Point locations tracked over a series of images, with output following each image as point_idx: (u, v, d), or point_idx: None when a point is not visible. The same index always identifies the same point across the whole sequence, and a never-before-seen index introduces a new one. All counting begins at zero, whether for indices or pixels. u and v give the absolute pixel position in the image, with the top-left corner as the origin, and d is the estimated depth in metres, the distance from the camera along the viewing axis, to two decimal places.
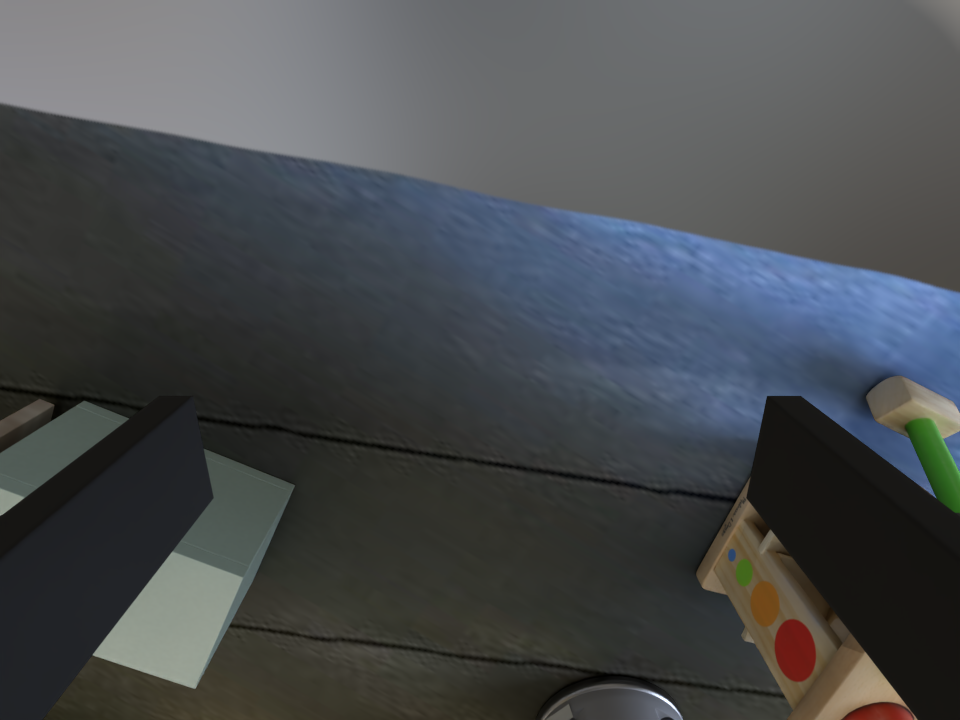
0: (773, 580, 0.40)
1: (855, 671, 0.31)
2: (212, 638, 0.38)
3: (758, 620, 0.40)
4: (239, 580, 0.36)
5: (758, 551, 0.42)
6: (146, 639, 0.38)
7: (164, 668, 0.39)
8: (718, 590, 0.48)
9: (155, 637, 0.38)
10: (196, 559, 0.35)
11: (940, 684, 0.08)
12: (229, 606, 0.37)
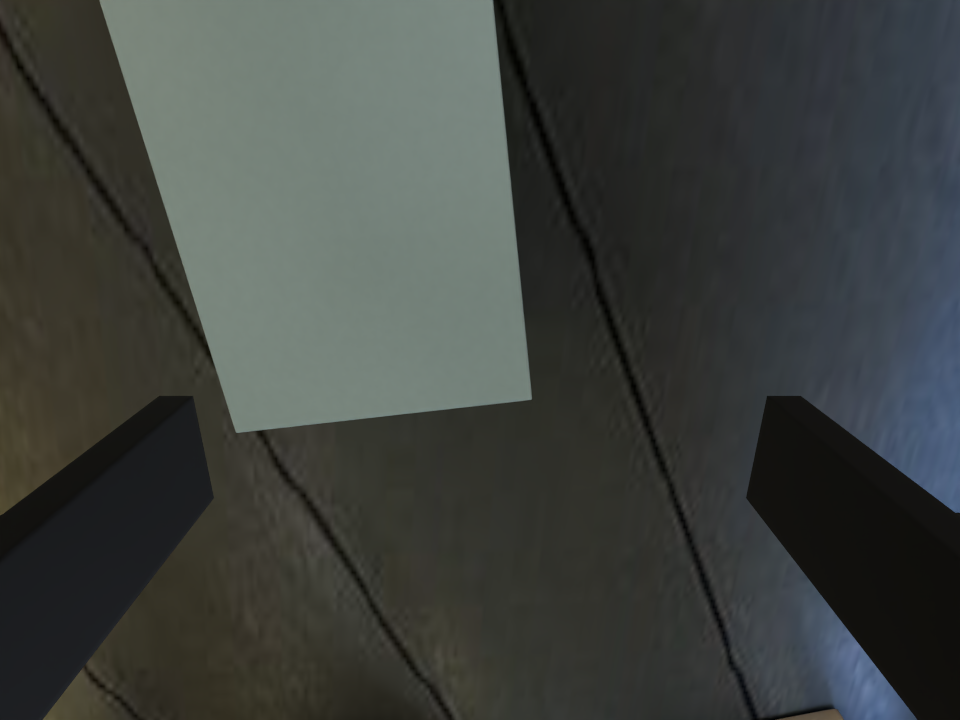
0: None
1: None
2: (371, 411, 0.20)
3: None
4: (522, 397, 0.20)
5: None
6: (290, 314, 0.19)
7: (244, 369, 0.20)
8: None
9: (306, 327, 0.19)
10: (521, 317, 0.19)
11: (940, 685, 0.08)
12: (457, 406, 0.20)
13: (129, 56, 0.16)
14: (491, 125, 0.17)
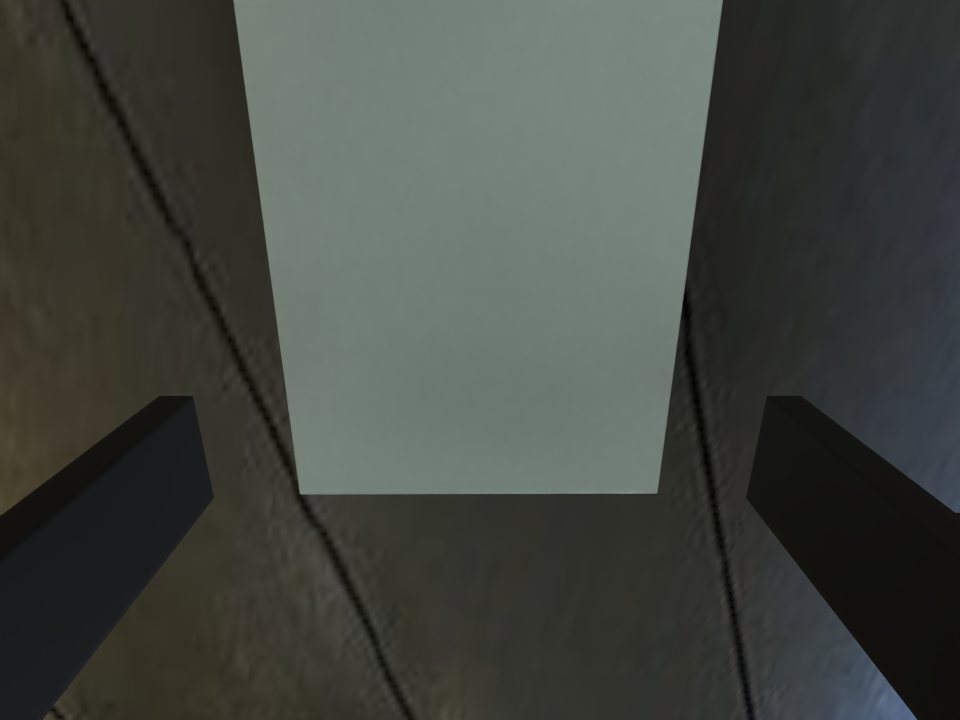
0: None
1: None
2: (467, 486, 0.17)
3: None
4: (647, 489, 0.17)
5: None
6: (393, 367, 0.16)
7: (325, 423, 0.16)
8: None
9: (409, 383, 0.16)
10: (666, 400, 0.16)
11: (940, 684, 0.08)
12: (570, 491, 0.17)
13: (253, 33, 0.13)
14: (683, 177, 0.14)
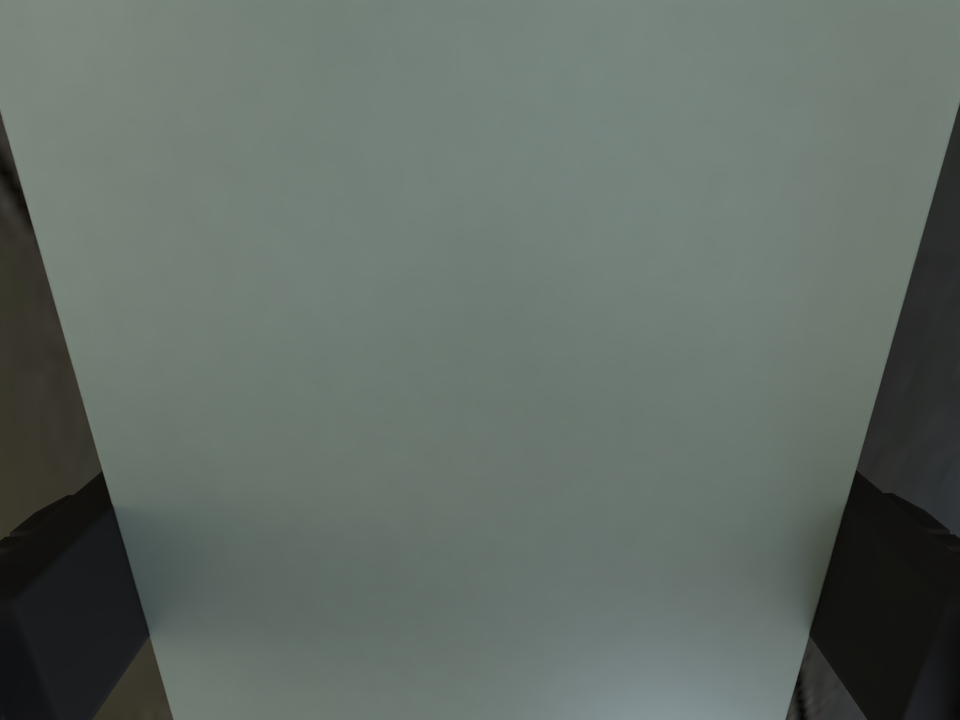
0: None
1: None
2: (460, 713, 0.10)
3: None
4: (769, 717, 0.10)
5: None
6: (322, 533, 0.09)
7: (206, 622, 0.09)
8: None
9: (354, 558, 0.09)
10: (815, 581, 0.09)
11: (861, 650, 0.08)
12: (636, 719, 0.10)
13: None
14: (904, 185, 0.07)
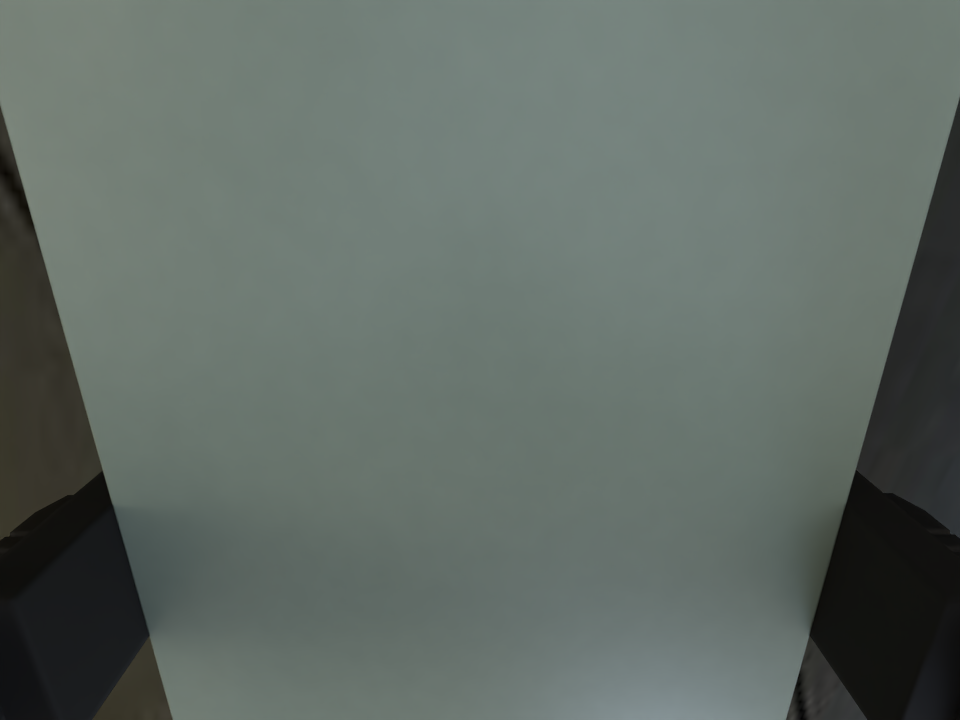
0: None
1: None
2: (460, 714, 0.10)
3: None
4: (769, 717, 0.10)
5: None
6: (322, 532, 0.09)
7: (206, 621, 0.09)
8: None
9: (354, 558, 0.09)
10: (815, 581, 0.09)
11: (861, 650, 0.08)
12: None
13: None
14: (903, 184, 0.07)
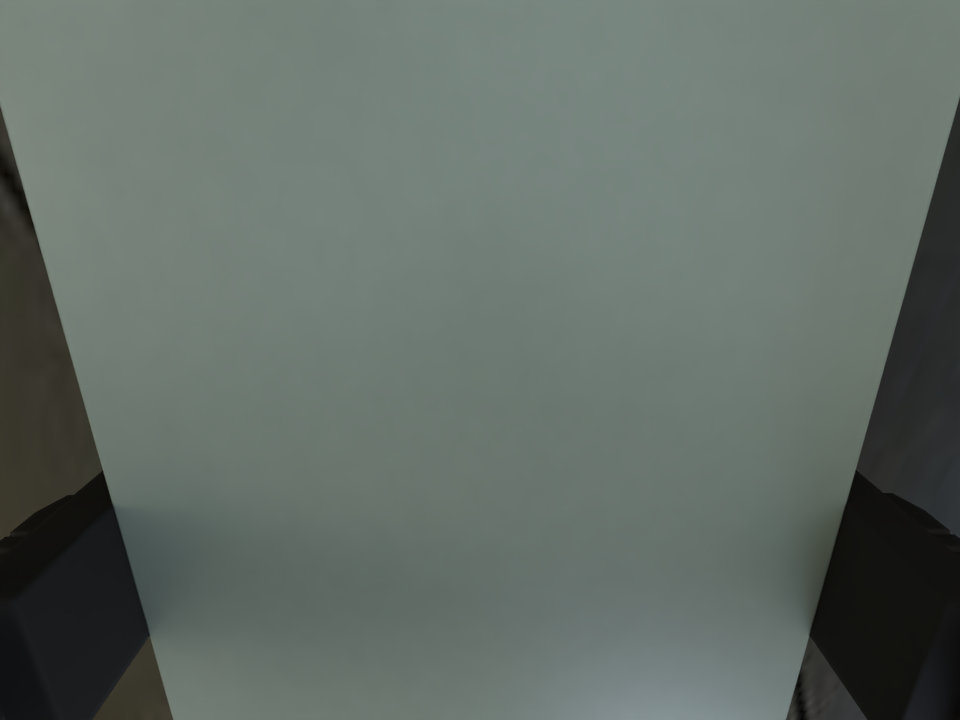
0: None
1: None
2: (460, 714, 0.10)
3: None
4: (769, 718, 0.10)
5: None
6: (322, 532, 0.09)
7: (206, 621, 0.09)
8: None
9: (354, 558, 0.09)
10: (815, 581, 0.09)
11: (860, 649, 0.08)
12: (636, 719, 0.10)
13: None
14: (903, 184, 0.07)
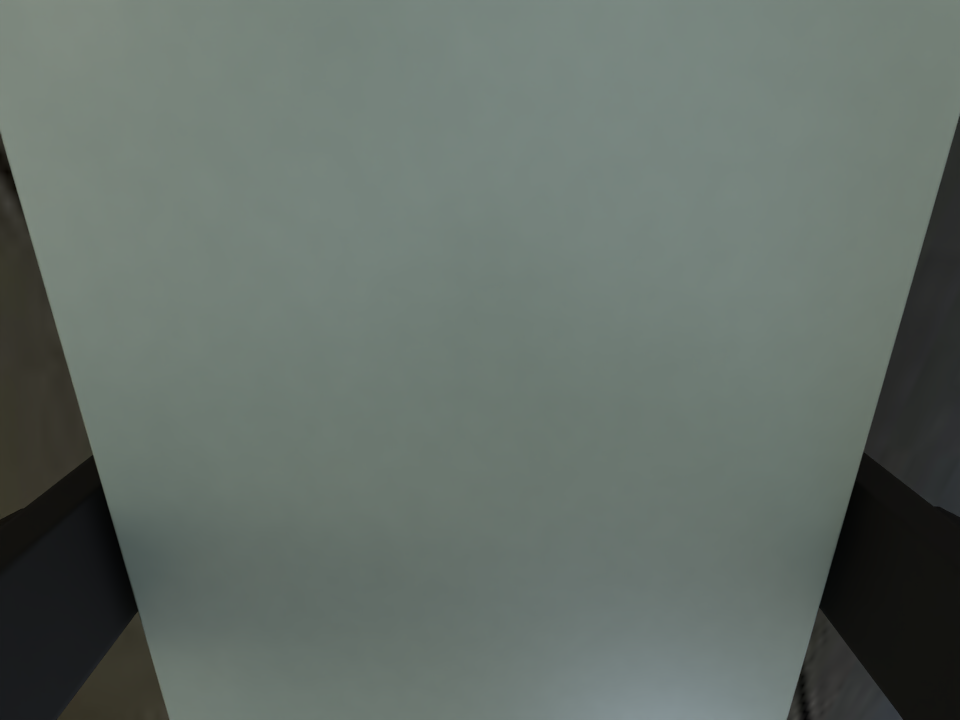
0: None
1: None
2: (458, 713, 0.10)
3: None
4: (770, 717, 0.10)
5: None
6: (318, 530, 0.08)
7: (202, 619, 0.09)
8: None
9: (351, 555, 0.09)
10: None
11: (916, 674, 0.08)
12: (635, 719, 0.10)
13: None
14: (909, 176, 0.07)
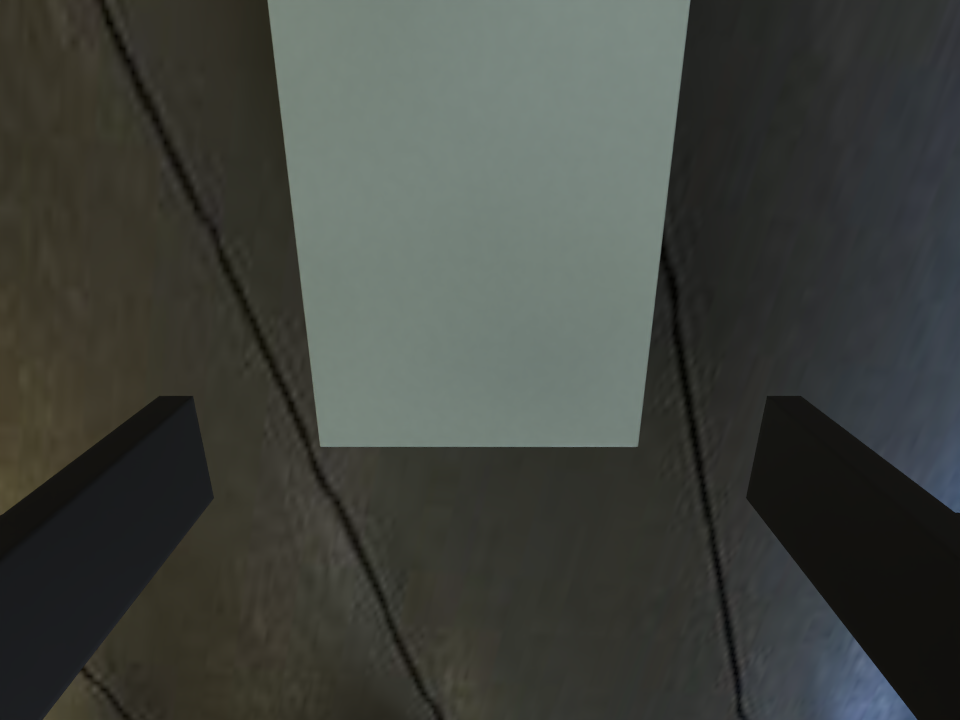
0: None
1: None
2: (468, 440, 0.19)
3: None
4: (629, 443, 0.19)
5: None
6: (403, 331, 0.18)
7: (343, 382, 0.19)
8: None
9: (418, 346, 0.18)
10: None
11: (940, 685, 0.08)
12: (560, 444, 0.19)
13: (285, 38, 0.15)
14: (657, 163, 0.16)
